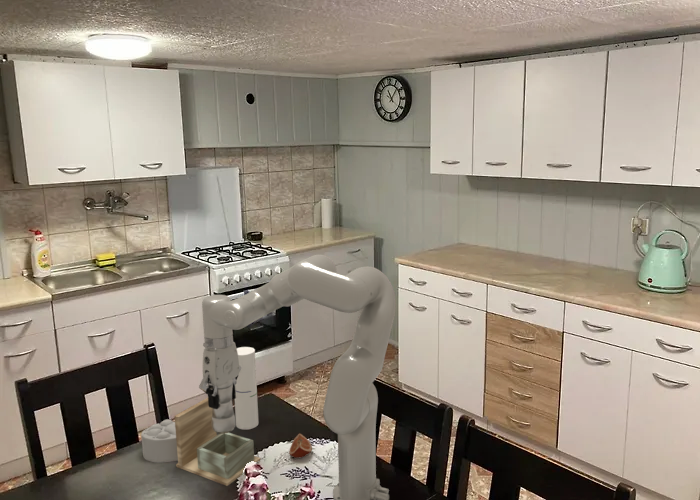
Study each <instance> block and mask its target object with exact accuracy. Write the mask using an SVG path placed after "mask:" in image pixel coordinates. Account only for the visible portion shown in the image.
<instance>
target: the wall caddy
mask: <svg viewBox="0 0 700 500" xmlns="http://www.w3.org/2000/svg"><path fill="white" fill-rule="evenodd" d="M173 417H174V422H175V429H176V441H177V454H178V460H177V463H176V464H175V467H176V468H178V469H181V470H184V471H186V472H189V473H192V474H194V475H197V476H200V477H202V478H205V479H208V480H211V481H213V482H216V483H217V484H221V485H224V486H226V487H228V486H230V485H231V484H232V483H233V482H235V481H236V480H237V479H238V478H240V477H241V476H242V475H243V474H242V473H243V470H244V468H245V466H246V464H247V463H249V462H251V461H254V462H258V461H259V462H261V461H260V460H261V457H259V456H256V455H255V449H254V448H255V447H254V443H255V442H254V440H253V439H251V438H247V437H244V436H242V435H237V434H234V433H231V432H229V433H225V434H219V433H216V432H215V431H214V430H213V429H212V425H211V420H212V408H210V407H209V405H208V397H206V398H204V399H203V400H201V401H199V402H197V403H196V404H193V405H192V406H190V407H188V408H186V409H184V410H183V411H181V412H179V413H177V414H174V416H173ZM259 462H258V463H259Z"/></svg>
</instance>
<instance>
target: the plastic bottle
mask: <svg viewBox="0 0 700 500" xmlns="http://www.w3.org/2000/svg"><path fill="white" fill-rule="evenodd" d="M232 388H233V379H231V380H228V381H227V382H226V383H224V384H222V385H220V386H218V388H217V393H216V395H218V401H219V408H218V409H214V408H212V420H211V425H212V429H213V430H214V431H215V432H216V433H217V434H218V435H219V434H225V433H231V432H232V431H234V429H235V428H236V414H235V413H234V406H233V399H232ZM211 390H213V386H211Z"/></svg>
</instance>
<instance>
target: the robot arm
mask: <svg viewBox="0 0 700 500" xmlns="http://www.w3.org/2000/svg"><path fill="white" fill-rule="evenodd" d="M336 266H337V265H336V264H335V262H334V260H333V259H332V258H331V257H329V256H327V255H325V254H314V255H310V256H309V257H307V258H304V259H302V260H300V261H298V262H296V263H295V264H294V265H293V266H290V267H289V268H287V269H285V270H283V271H282V272H280V273H278V274H276V275H274V276H273V277H272V278H271V280H270V281H269V282H266V283H265V284H263V285H261V286H260V287H257V288H256V289H254V290H252V291H250V292H248V293H246V294H244V295H241V296H240V297H237V298H235V299H232V300H231V299H230V297H229V296H227V295H225V294H212V295H208V296H206V297H204V298H203V299H202V303H201V309H202V320H203V321H202V324H203V337H204V338H203V340H204V342H203V345H202V346H203V347H204V348H203V353H202V354H203V355H202V379H201V381H200V383H199V385H198V388H199V389H200V390H202V392H204V393H205V395H207V398H208V405H209V407H210V408H214V409H218V408H219V401H218V395H216V393H217V388H218V386H220V385H222V384H224V383H226V382H227V381H228V380H231V379H233V388H232V400H235V398H236V392H235V385H236V383H237V381H236V380H237V378H238V375H239V372H240V370H241V366H239V359H238V353H237V348H238V347H237V346H236V342H235V341H234V336H233V335H234V333H233V330H234V331H237V330H242V329H243V328H246V327H247V326H249V325H251V324H252V323H253V322H256V321H257V320H260V319H261V318H263V317H265V316H267V315H269V314H270V313H272V312H274V311H277V310H278V309H281V308H282V307H283V308H284V307H291V306H293V305H294V304H296V303H298V302H300V301H303V300H307V301H310V302H312V303H314V304H317V305H320V306H322V307H326V308H329V309H331V310H334V311H338V312H341V313H344V314H347V313H348V314H352V313H357V312H359V315H358V318H357V319H356V323H355V329H354V333H353V336H352V340H351V343H350V345H349V347H348V348H347V349H346V351H344V352H343V354H341V355H340V356H339V357H338V358H337V360H336V361H335V362H334V364H333V367H332V369H331V373H330V376H329V377H330V378H329V382H328V385H327V389H326V394H325V399H324V403H323V410H322V411H323V419H324V422H325V424H326V426H327V427H328V429H330V431H331V432H334V433H335V434H336V435H337V459H338V460H337V461H338V463H337V464H338V465H337V466H338V482H337V483H336V485H335V487H333V490H332V498H333V500H390V494H389V491H390V490H389V488H386V487H382V486H381V485H380V484H381V482H380V478H377V474H376V471H377V469H376V468H377V465H376V463H377V461H376V457H377V455H376V449H377V447H376V442H377V441H376V438H377V437H376V430H377V429H376V426H377V425H376V424H377V413H378V404H379V397H378V391H377V388H376V386H375V385H374V382H375V380H376V379H377V377H378V376H379V375H380V373H381V372H382V369H383V367H384V362H385V357H386V353H387V349H388V344H389V343H390V342H389V341H390V338H391V337H390V336H391V332H392V328H393V325H394V319H395V314H396V306H397V305H396V303H397V302H396V299H397V298H396V295H395V294H396V293H395V289H394V287H393V285H392V283H391V281H390V280H389V278H388V276H387V275H386V274H385V273H383V272H382V271H381V270H380V269H378V268H376V267H373V266H370V265H369V266H368V265H367V266H361V267H357V268H355V269H353V270H352V271H350V272H348V273H346V274H345V275H344V274H340V273H338V272H337V267H336ZM211 386H213V390H211Z"/></svg>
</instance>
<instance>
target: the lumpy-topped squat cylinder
mask: <svg viewBox="0 0 700 500" xmlns="http://www.w3.org/2000/svg"><path fill="white" fill-rule="evenodd" d="M140 436H141V437H140V438H141V447H142V457H143V459H144V460H146V461H148V462H152V463H169V462H178V454H177V441H176V429H175V421H173V420H171V419H168V418H167V419H164V420H163V421H161V422H160V423H154V424H151V425H150V426H149V427H147V428H145V429H144V430H143V431H141V434H140Z"/></svg>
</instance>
